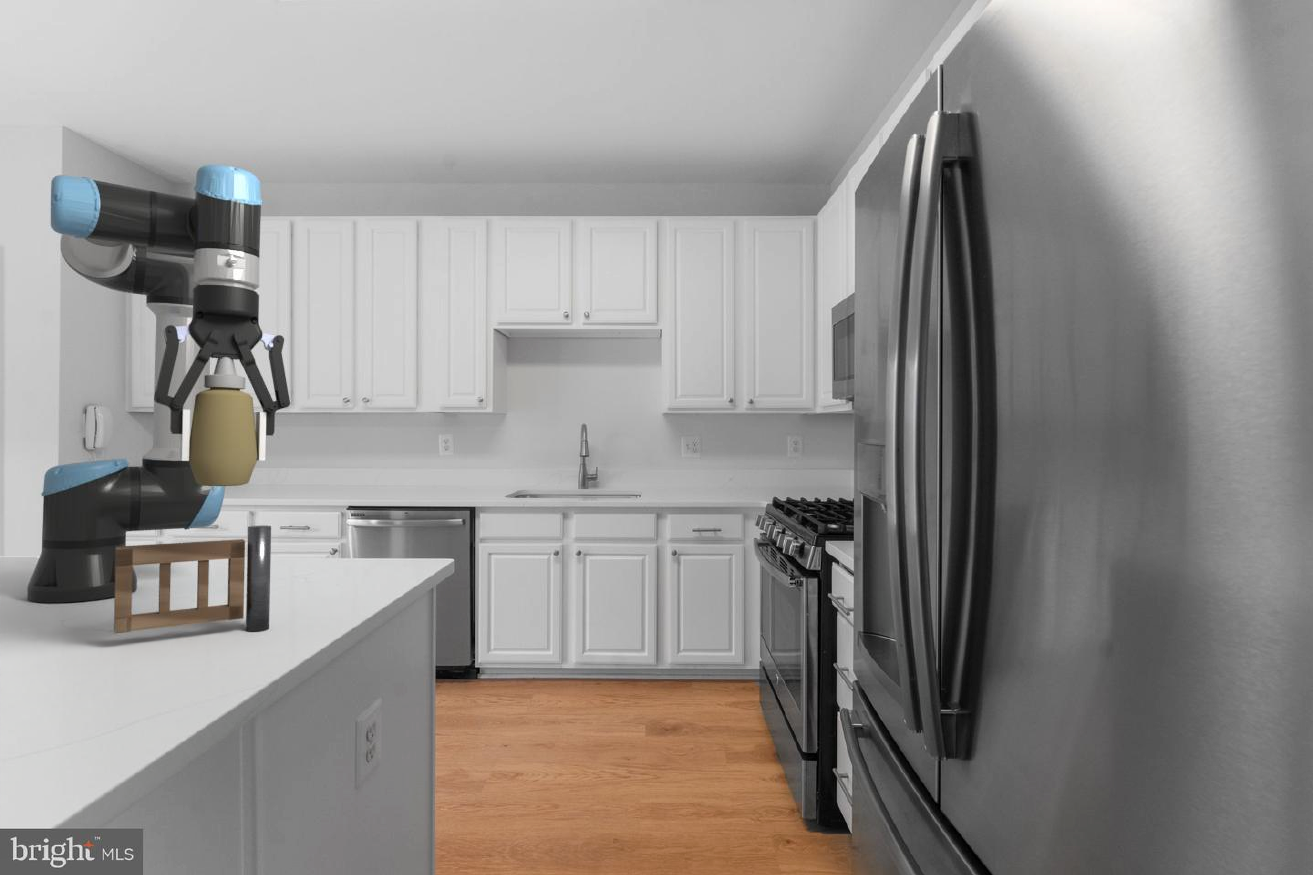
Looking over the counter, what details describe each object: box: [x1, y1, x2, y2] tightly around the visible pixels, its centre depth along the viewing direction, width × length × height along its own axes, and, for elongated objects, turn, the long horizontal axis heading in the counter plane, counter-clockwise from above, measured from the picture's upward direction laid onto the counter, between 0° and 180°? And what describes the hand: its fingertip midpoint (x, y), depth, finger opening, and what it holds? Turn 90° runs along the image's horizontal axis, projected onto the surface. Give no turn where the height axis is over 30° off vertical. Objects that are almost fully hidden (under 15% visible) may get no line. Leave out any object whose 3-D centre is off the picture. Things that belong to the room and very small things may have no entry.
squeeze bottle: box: [189, 356, 258, 487], centre depth 98 cm, size 8×8×18 cm
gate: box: [113, 538, 246, 635], centre depth 103 cm, size 2×15×11 cm, turn 128°
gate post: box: [245, 524, 272, 633], centre depth 109 cm, size 3×3×15 cm
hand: (223, 460), depth 98 cm, fingers closed on squeeze bottle, 8 cm apart
